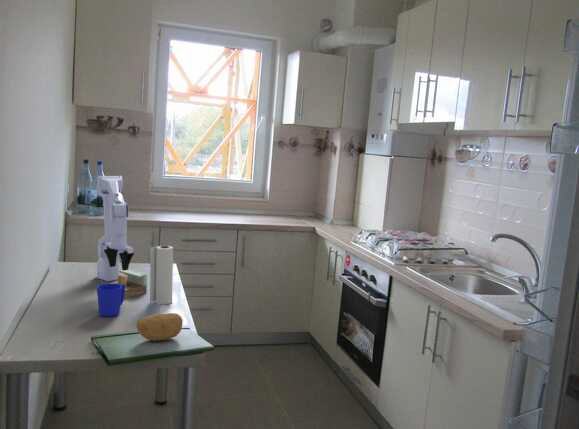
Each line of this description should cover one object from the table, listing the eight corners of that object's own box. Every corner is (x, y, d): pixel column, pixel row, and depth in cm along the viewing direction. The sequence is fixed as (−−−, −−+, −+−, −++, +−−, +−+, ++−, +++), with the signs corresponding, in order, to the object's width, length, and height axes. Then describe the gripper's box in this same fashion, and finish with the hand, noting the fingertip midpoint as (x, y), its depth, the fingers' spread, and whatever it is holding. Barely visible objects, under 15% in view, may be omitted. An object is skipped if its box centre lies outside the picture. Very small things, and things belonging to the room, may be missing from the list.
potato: (134, 336, 170) (134, 311, 168) (179, 332, 175) (179, 308, 174) (137, 348, 161) (138, 322, 160) (185, 343, 166) (186, 318, 165)
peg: (115, 293, 213) (115, 275, 212) (123, 291, 216) (123, 274, 215) (121, 294, 211) (121, 277, 210) (129, 293, 214) (129, 275, 213)
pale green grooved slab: (119, 288, 220) (119, 270, 219) (127, 286, 223) (127, 268, 222) (138, 294, 213) (138, 275, 212) (146, 292, 216) (146, 274, 215)
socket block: (101, 292, 213) (101, 285, 213) (127, 286, 223) (127, 279, 222) (121, 298, 206) (121, 291, 206) (146, 292, 216) (146, 285, 216)
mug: (133, 309, 195) (133, 282, 193) (111, 319, 183) (111, 291, 182) (113, 306, 197) (114, 279, 196) (91, 316, 186) (91, 287, 185)
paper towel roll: (175, 301, 206) (176, 246, 203) (165, 305, 201) (166, 249, 198) (160, 298, 209) (160, 244, 206) (149, 302, 204) (150, 246, 200)
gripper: (98, 232, 212) (98, 266, 214) (122, 238, 203) (122, 273, 205) (113, 230, 217) (113, 263, 219) (137, 235, 209) (137, 270, 211)
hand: (118, 268), depth 213 cm, fingers open, 7 cm apart
